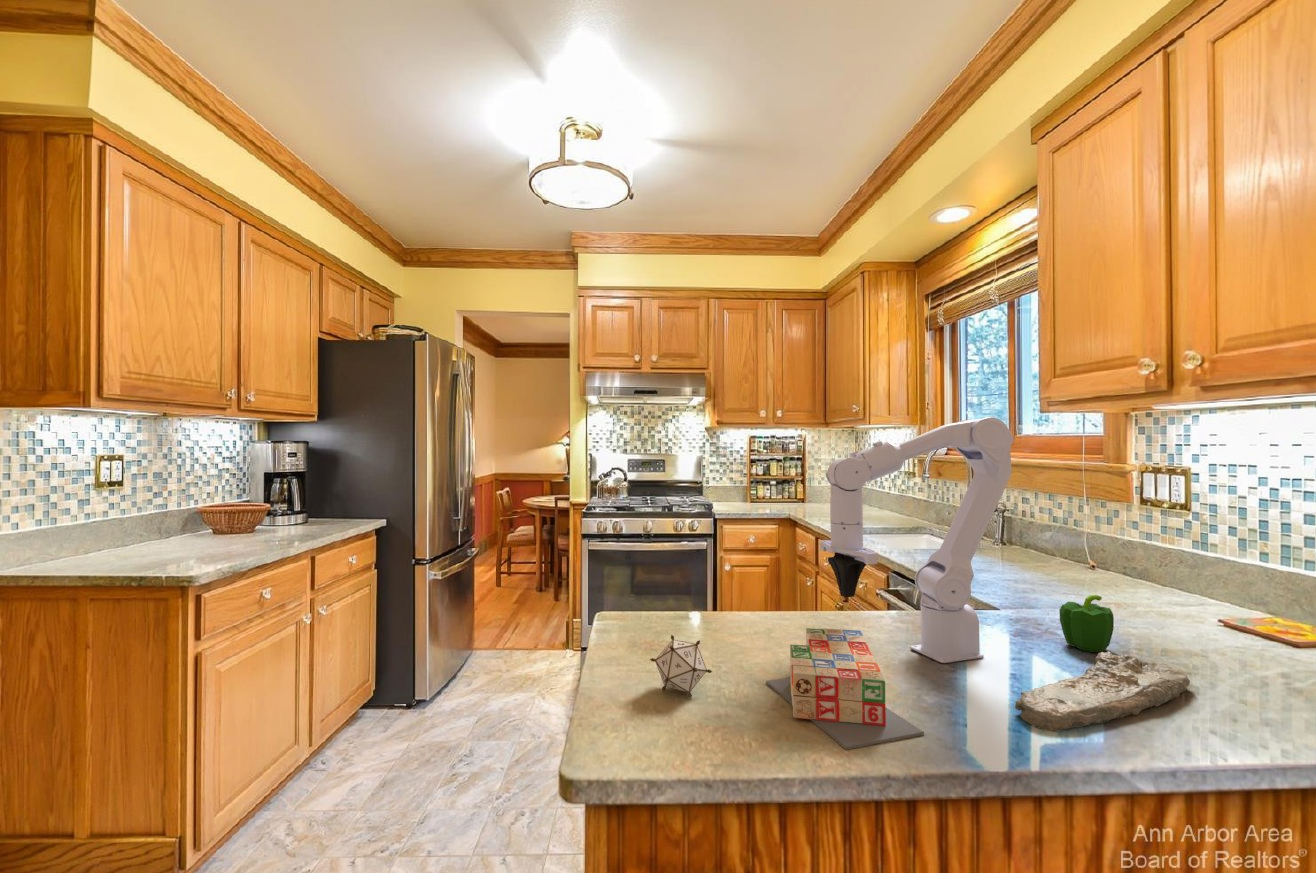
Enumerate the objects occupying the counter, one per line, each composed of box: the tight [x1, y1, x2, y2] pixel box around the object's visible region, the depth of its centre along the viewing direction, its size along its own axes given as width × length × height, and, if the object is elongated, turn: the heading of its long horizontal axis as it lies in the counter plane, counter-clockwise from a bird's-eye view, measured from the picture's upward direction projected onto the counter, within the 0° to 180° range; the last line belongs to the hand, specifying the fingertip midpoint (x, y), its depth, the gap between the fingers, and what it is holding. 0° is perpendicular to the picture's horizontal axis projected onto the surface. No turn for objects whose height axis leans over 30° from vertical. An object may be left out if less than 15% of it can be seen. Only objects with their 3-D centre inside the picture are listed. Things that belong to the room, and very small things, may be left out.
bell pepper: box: [1058, 594, 1115, 653], centre depth 105 cm, size 8×8×10 cm
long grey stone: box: [1014, 651, 1191, 732], centre depth 83 cm, size 35×5×10 cm
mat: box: [765, 677, 925, 751], centre depth 82 cm, size 12×21×1 cm, turn 17°
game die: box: [649, 634, 713, 699], centre depth 88 cm, size 9×8×10 cm
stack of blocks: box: [789, 627, 887, 726], centre depth 87 cm, size 21×6×12 cm
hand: (847, 596), depth 104 cm, fingers closed
